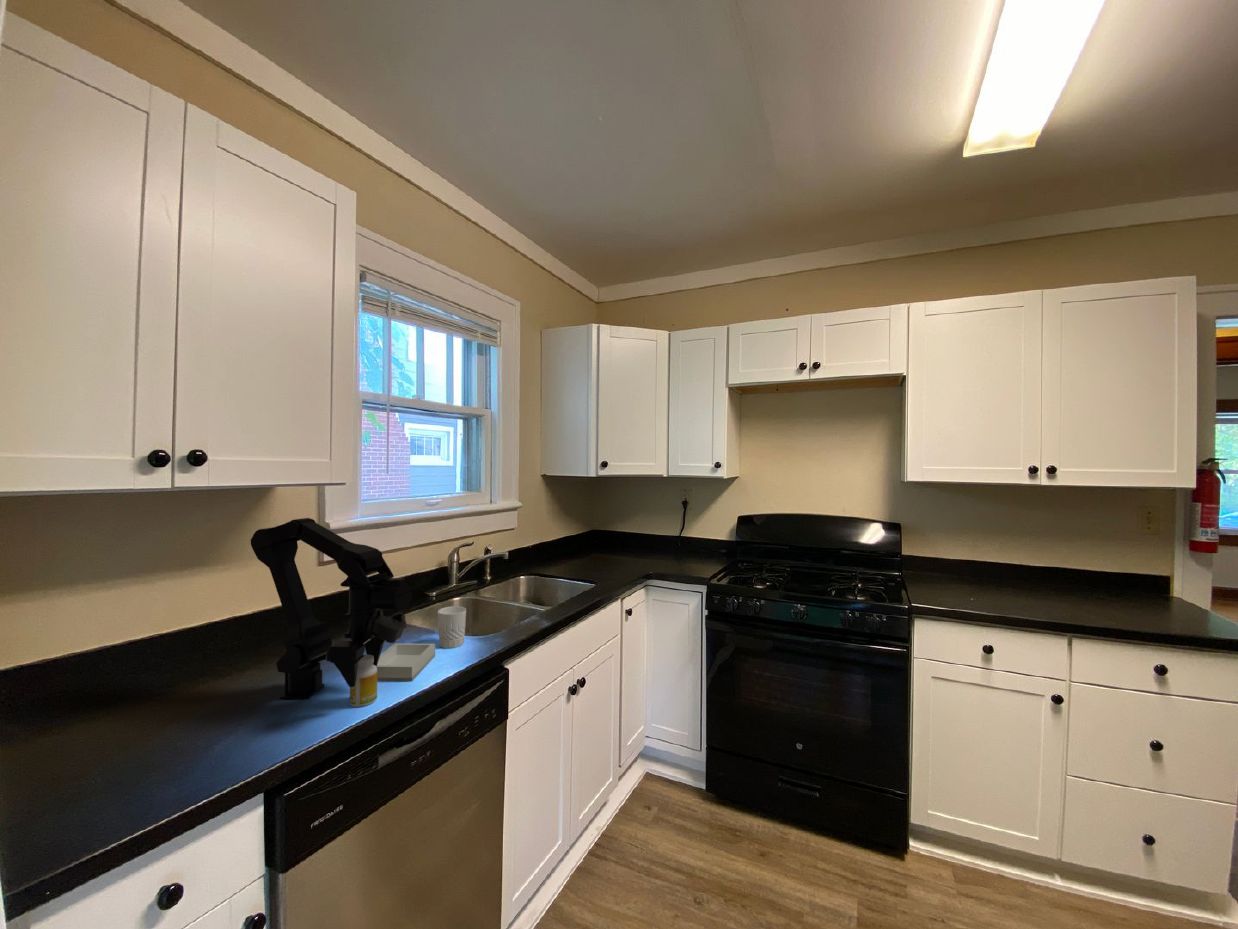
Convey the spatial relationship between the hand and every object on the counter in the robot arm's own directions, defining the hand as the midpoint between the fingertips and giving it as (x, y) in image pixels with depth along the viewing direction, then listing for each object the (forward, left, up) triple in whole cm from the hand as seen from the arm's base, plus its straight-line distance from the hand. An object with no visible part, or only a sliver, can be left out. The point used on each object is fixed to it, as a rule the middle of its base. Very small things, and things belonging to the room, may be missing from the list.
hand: (363, 677), depth 108 cm
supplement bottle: (0, 0, -6) cm, 6 cm away
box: (+1, +17, -5) cm, 18 cm away
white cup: (+8, +34, -6) cm, 35 cm away
